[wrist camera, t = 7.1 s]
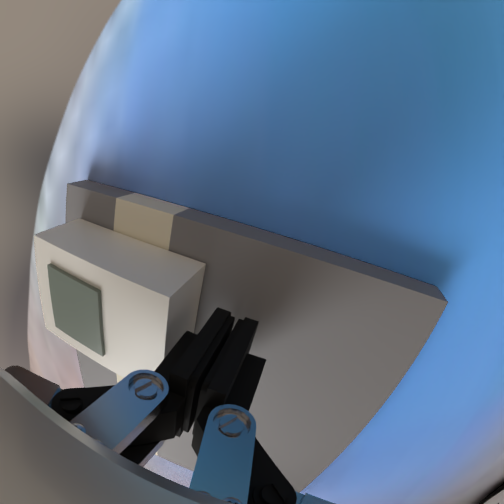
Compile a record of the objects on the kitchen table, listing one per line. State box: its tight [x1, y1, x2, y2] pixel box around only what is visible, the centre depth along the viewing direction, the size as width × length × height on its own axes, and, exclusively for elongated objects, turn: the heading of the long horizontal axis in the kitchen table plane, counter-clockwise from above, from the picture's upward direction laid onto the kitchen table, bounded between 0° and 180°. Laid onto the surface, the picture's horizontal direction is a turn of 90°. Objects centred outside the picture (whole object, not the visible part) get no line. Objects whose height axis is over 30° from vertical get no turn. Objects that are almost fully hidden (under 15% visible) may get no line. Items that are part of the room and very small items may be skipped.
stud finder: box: [34, 218, 206, 377], centre depth 11 cm, size 7×5×3 cm
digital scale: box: [66, 180, 448, 493], centre depth 15 cm, size 18×20×2 cm
